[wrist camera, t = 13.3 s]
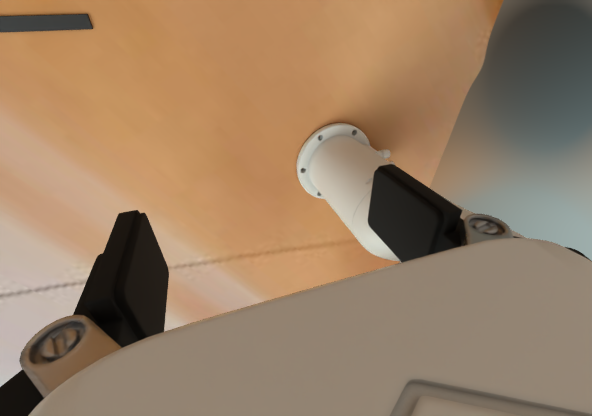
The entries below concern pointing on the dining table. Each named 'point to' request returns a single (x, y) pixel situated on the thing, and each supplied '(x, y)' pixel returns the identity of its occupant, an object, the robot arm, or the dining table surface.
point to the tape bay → (44, 23)
